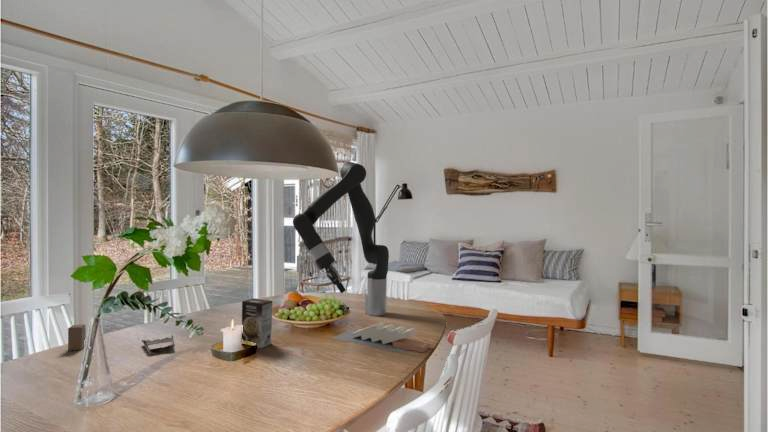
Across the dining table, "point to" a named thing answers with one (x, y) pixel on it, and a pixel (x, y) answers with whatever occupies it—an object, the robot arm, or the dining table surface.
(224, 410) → the dining table surface
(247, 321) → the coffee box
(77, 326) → the wooden block
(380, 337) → the domino
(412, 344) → the domino
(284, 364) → the dining table surface
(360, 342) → the grey ridged plate
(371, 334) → the domino
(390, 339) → the domino
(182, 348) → the dining table surface
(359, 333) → the domino
